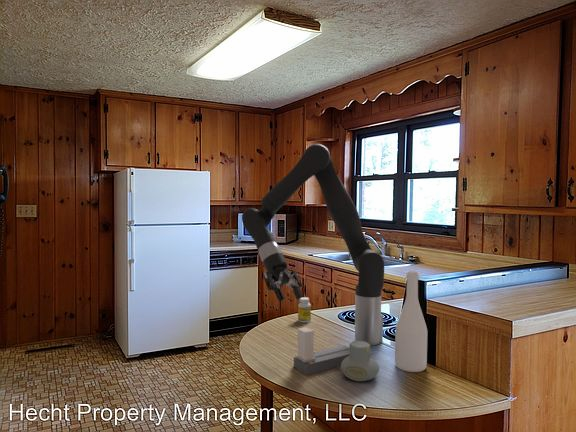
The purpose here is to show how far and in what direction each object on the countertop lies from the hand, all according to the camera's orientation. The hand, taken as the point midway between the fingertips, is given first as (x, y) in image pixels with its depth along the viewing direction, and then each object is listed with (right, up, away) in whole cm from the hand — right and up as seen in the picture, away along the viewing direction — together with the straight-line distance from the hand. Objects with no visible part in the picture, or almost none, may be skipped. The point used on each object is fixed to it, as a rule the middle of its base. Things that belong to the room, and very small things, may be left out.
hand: (291, 299), depth 143 cm
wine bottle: (+37, -20, -8) cm, 43 cm away
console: (+11, -19, -6) cm, 23 cm away
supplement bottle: (+6, -17, +38) cm, 42 cm away
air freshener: (+20, -20, -16) cm, 32 cm away
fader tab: (+4, -16, -10) cm, 20 cm away
